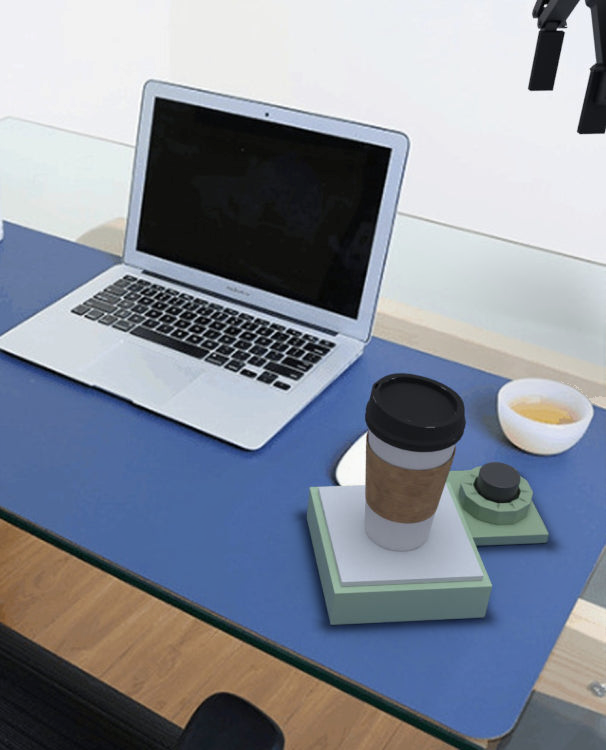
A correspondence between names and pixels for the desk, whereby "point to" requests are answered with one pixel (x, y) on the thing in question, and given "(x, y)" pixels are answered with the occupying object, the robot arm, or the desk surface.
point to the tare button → (498, 482)
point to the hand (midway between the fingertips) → (564, 110)
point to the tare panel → (497, 513)
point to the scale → (394, 564)
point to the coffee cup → (408, 456)
